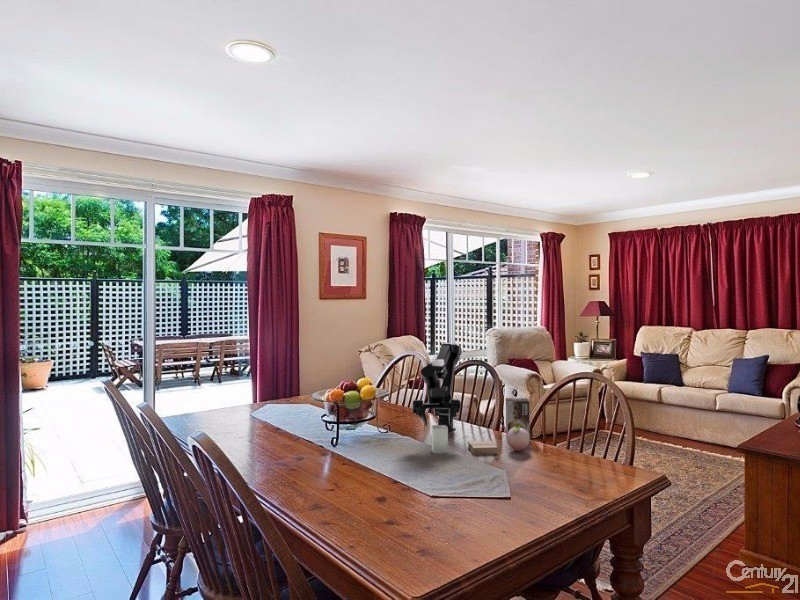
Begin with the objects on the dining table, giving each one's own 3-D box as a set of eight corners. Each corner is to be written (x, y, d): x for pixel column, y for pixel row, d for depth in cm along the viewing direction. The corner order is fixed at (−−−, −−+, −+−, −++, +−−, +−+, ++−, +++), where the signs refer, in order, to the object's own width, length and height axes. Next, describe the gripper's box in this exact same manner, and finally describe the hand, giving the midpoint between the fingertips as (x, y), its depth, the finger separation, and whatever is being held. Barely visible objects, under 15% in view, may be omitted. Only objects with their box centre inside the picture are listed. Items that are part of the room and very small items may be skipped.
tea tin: (431, 450, 194) (431, 425, 194) (446, 449, 194) (446, 425, 194) (433, 453, 190) (433, 428, 190) (448, 453, 190) (448, 427, 190)
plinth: (468, 447, 197) (468, 441, 197) (491, 447, 198) (491, 440, 198) (473, 454, 188) (473, 447, 188) (497, 454, 189) (497, 447, 189)
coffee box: (527, 436, 214) (527, 397, 214) (530, 440, 207) (529, 400, 207) (505, 435, 215) (505, 397, 215) (507, 440, 208) (507, 400, 208)
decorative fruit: (530, 455, 187) (530, 428, 187) (507, 454, 189) (507, 427, 189) (528, 448, 196) (528, 422, 196) (507, 447, 198) (507, 421, 198)
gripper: (412, 379, 199) (415, 413, 188) (459, 379, 201) (465, 413, 190) (410, 396, 207) (413, 429, 196) (456, 395, 208) (461, 429, 197)
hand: (438, 425), depth 194 cm, fingers open, 9 cm apart
